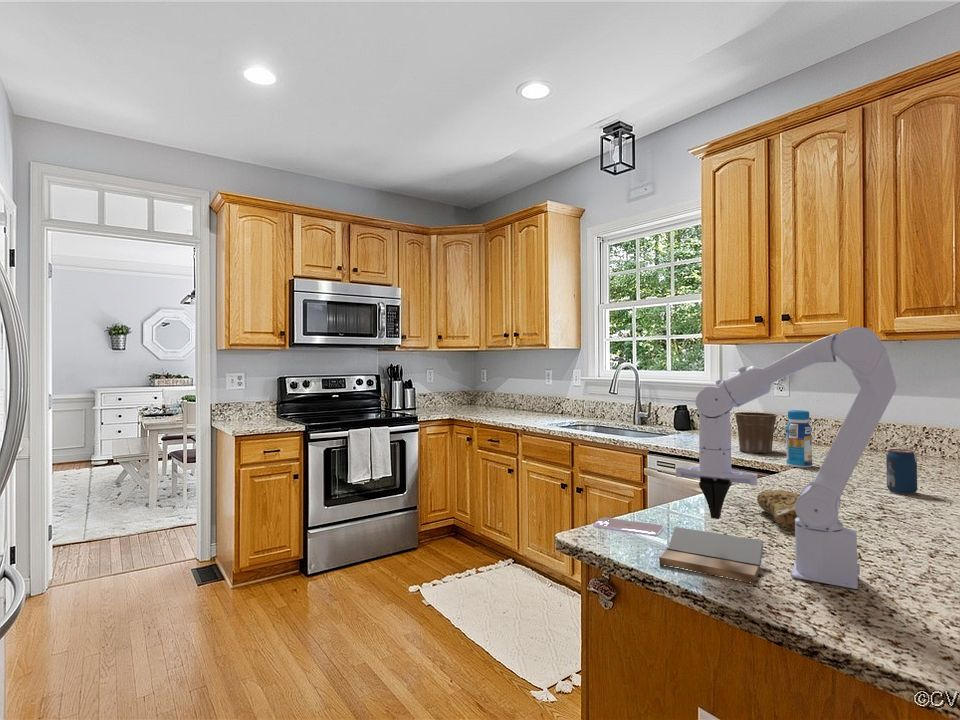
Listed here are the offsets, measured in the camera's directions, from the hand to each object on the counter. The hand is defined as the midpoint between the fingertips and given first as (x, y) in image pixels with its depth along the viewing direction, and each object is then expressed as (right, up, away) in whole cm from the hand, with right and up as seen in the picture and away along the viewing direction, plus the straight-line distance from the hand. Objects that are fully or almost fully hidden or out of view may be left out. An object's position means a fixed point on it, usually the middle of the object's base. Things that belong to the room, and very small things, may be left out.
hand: (715, 517), depth 105 cm
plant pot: (+71, -8, +123) cm, 142 cm away
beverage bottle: (+70, -8, +90) cm, 115 cm away
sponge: (+28, -8, +23) cm, 37 cm away
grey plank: (-1, -6, -1) cm, 6 cm away
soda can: (+75, -8, +50) cm, 91 cm away
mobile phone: (-12, -9, +20) cm, 24 cm away
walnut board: (-4, -8, -7) cm, 11 cm away
